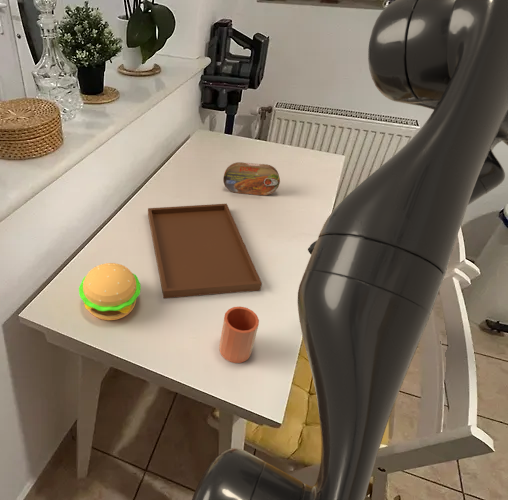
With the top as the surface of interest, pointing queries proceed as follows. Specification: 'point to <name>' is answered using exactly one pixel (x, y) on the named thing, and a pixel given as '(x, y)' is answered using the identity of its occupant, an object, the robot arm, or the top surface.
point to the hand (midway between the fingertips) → (321, 271)
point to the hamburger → (109, 291)
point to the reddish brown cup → (238, 334)
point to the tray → (200, 251)
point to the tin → (251, 178)
